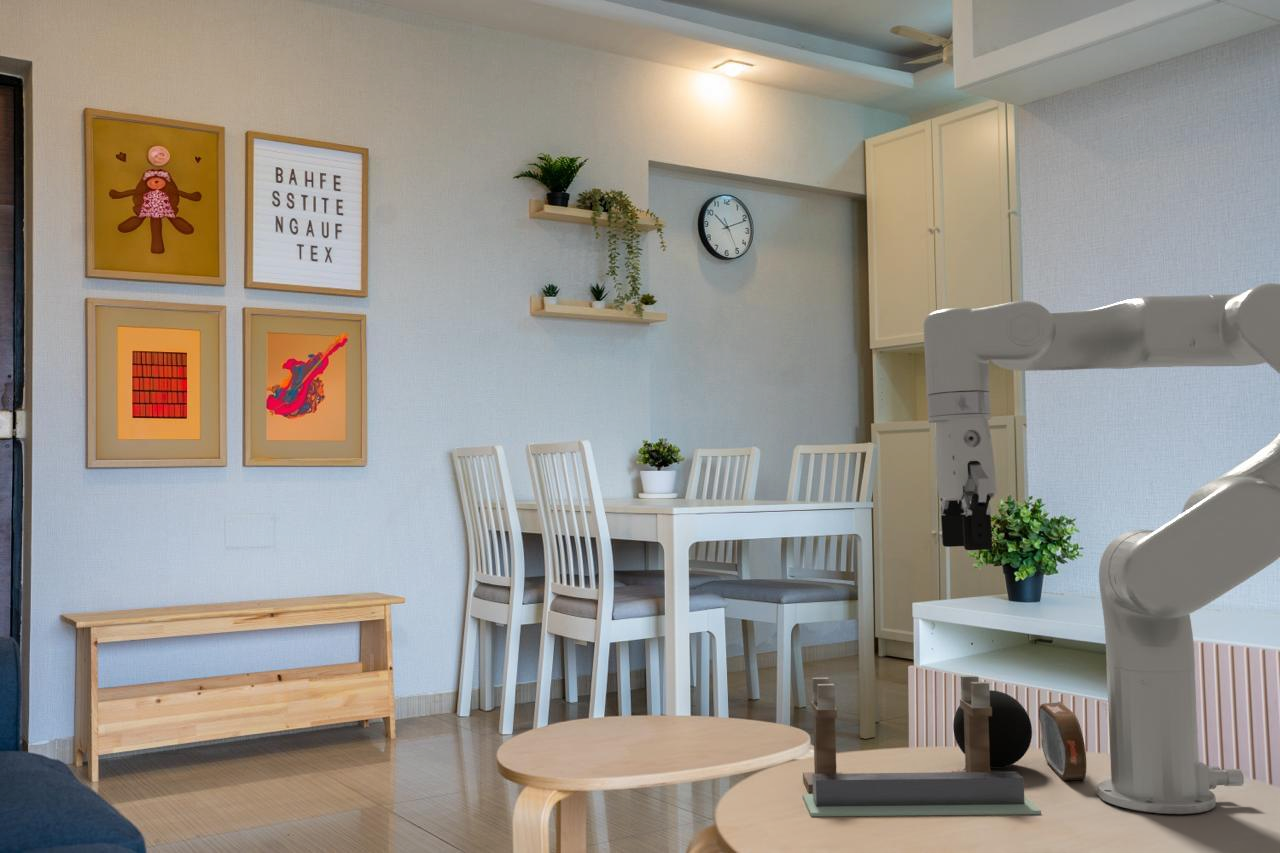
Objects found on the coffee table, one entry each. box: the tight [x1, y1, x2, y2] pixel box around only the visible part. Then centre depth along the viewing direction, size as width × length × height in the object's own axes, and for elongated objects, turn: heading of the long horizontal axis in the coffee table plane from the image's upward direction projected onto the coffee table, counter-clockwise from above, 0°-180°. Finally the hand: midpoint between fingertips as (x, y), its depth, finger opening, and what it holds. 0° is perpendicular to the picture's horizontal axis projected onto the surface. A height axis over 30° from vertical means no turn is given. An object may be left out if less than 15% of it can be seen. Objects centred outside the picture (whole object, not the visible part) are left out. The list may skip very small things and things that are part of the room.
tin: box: [1038, 701, 1087, 781], centre depth 145 cm, size 15×3×8 cm, turn 172°
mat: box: [802, 793, 1042, 817], centre depth 131 cm, size 26×8×1 cm, turn 89°
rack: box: [802, 675, 994, 794], centre depth 140 cm, size 24×6×13 cm, turn 89°
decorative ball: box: [952, 689, 1033, 769], centre depth 149 cm, size 10×10×10 cm
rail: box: [812, 771, 1025, 807], centre depth 131 cm, size 24×3×3 cm, turn 89°
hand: (966, 547), depth 137 cm, fingers open, 9 cm apart
